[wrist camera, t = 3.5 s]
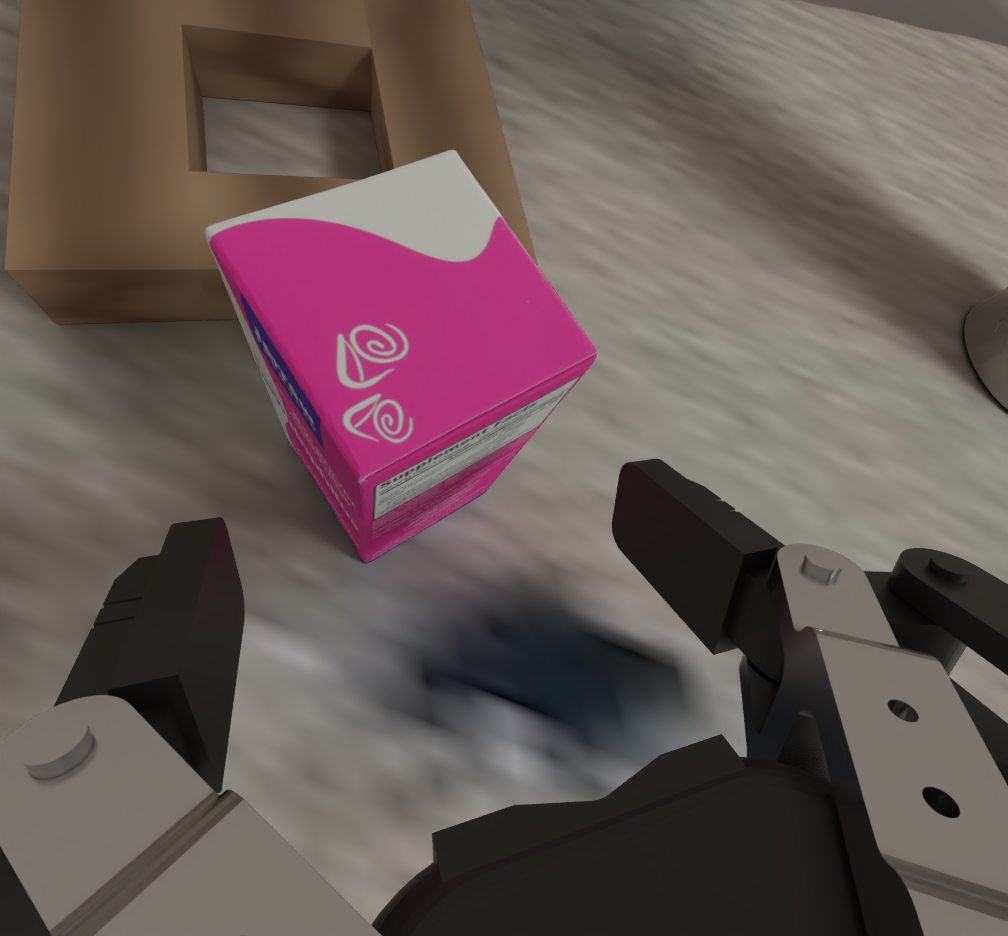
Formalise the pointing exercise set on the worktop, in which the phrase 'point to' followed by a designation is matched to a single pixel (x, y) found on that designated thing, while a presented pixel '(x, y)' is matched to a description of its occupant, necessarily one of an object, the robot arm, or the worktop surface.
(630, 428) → the worktop surface
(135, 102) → the wooden square frame
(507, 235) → the supplement box
